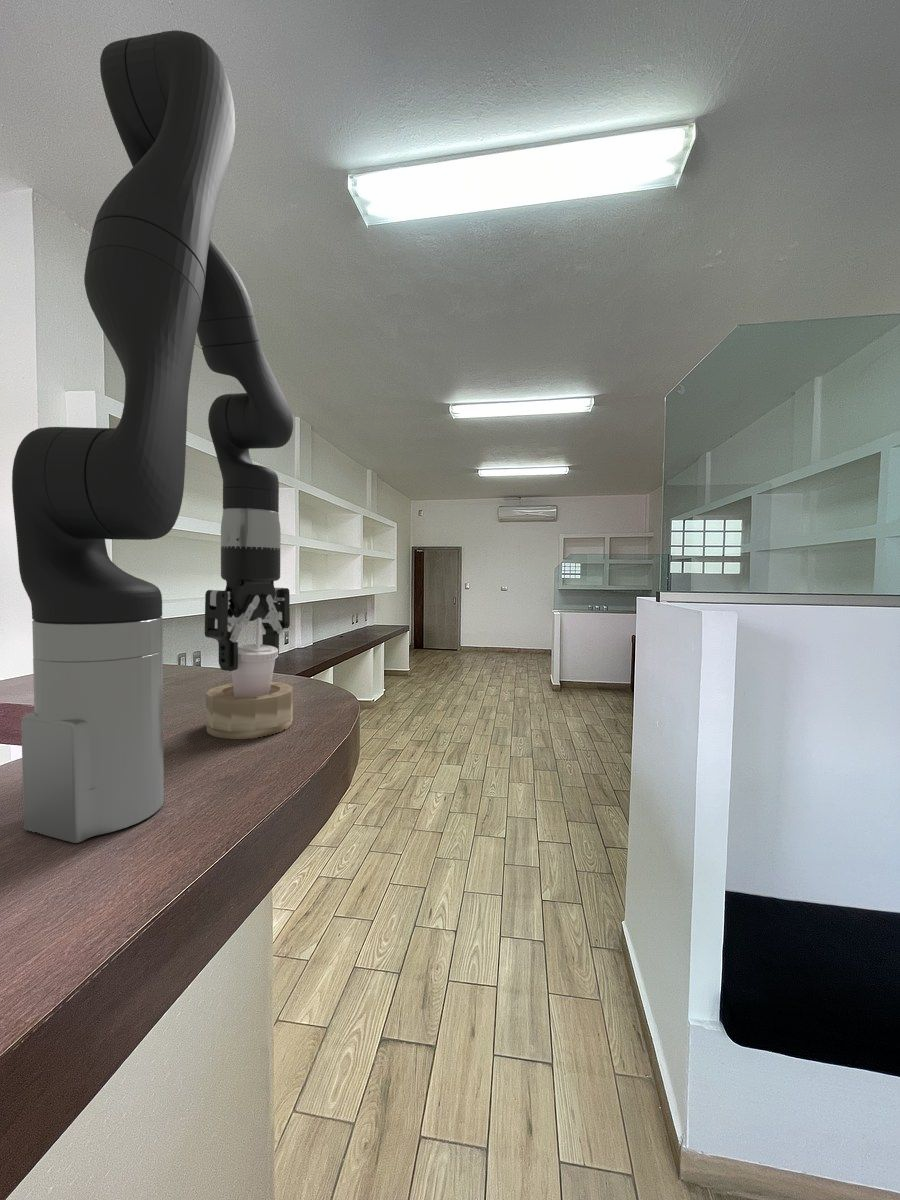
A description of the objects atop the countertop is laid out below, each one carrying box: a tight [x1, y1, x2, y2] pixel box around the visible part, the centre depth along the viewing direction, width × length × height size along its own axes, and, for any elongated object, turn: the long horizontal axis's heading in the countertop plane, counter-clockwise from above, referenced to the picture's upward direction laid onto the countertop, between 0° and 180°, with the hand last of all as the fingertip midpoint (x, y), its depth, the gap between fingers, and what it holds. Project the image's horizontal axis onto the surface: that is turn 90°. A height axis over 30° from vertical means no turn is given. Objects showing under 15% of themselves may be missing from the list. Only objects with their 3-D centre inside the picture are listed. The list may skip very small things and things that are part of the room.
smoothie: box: [231, 618, 279, 697], centre depth 69 cm, size 6×6×14 cm
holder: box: [205, 681, 294, 740], centre depth 70 cm, size 11×11×5 cm
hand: (250, 664), depth 70 cm, fingers open, 8 cm apart
